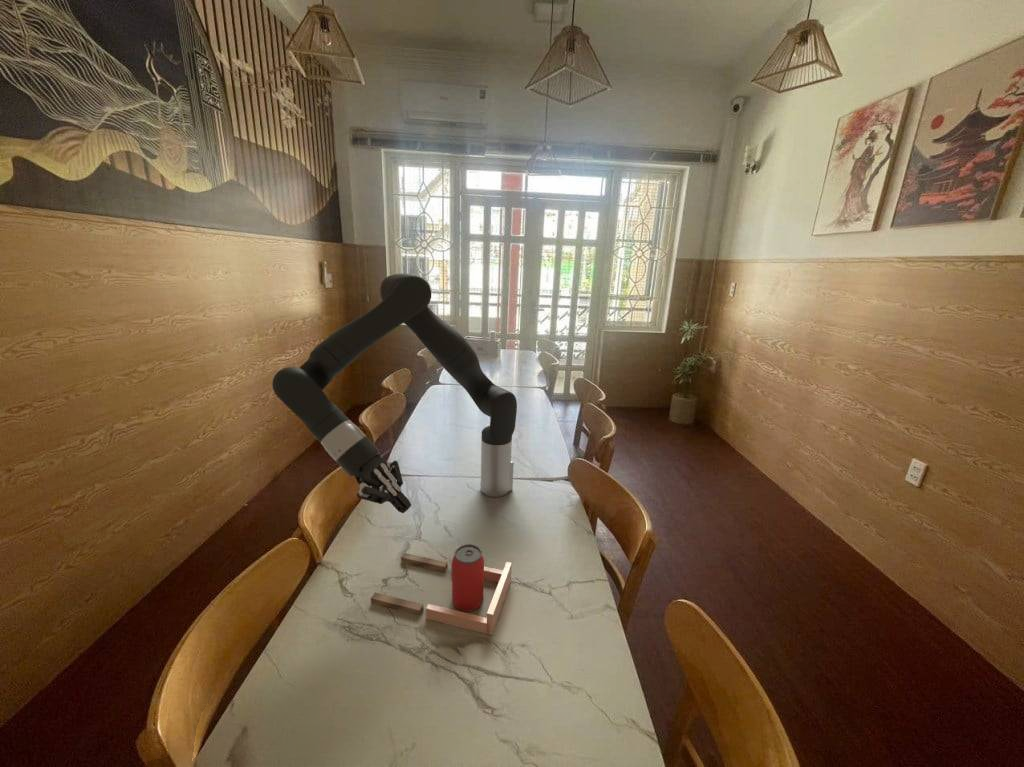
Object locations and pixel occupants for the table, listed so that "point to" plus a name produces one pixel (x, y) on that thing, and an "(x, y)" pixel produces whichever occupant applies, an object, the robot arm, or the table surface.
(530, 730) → the table surface
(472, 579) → the beer can
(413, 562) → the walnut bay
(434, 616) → the terracotta bay
